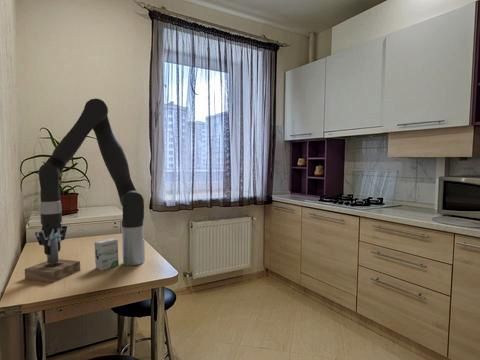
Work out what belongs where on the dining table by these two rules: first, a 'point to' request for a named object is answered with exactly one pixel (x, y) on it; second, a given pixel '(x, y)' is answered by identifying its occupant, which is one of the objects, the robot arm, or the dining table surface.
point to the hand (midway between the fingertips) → (52, 252)
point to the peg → (53, 249)
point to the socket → (52, 270)
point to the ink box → (106, 254)
